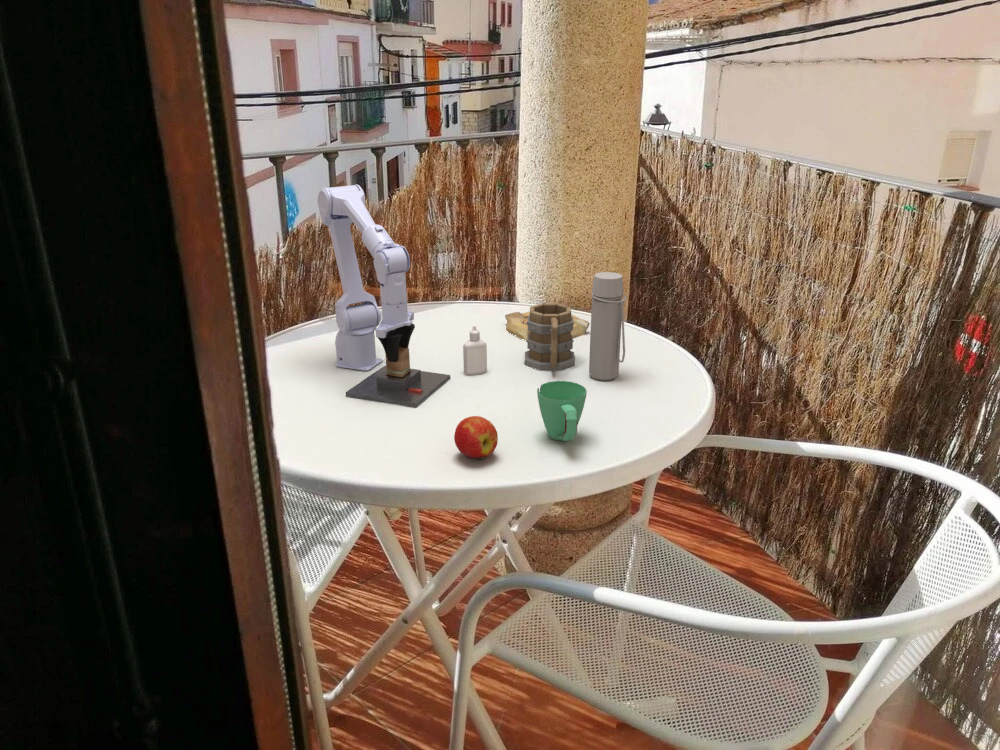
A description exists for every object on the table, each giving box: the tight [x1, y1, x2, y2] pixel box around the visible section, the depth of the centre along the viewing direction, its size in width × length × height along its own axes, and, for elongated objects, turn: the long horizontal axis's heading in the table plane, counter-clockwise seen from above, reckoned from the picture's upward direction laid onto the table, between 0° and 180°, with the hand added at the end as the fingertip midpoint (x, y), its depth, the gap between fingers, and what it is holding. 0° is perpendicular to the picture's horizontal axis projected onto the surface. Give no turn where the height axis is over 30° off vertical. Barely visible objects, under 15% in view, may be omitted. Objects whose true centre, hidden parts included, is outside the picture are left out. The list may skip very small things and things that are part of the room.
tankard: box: [524, 302, 576, 371], centre depth 188 cm, size 20×13×15 cm, turn 178°
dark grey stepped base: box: [345, 365, 451, 409], centre depth 178 cm, size 18×18×4 cm
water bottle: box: [588, 271, 627, 382], centre depth 179 cm, size 9×8×25 cm
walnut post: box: [384, 347, 411, 377], centre depth 176 cm, size 4×4×6 cm
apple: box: [453, 415, 499, 460], centre depth 145 cm, size 8×8×8 cm
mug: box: [536, 380, 588, 442], centre depth 151 cm, size 15×10×10 cm
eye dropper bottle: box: [462, 325, 488, 376], centre depth 185 cm, size 4×6×12 cm
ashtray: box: [504, 311, 591, 341], centre depth 217 cm, size 24×24×5 cm
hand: (397, 357), depth 176 cm, fingers closed on walnut post, 4 cm apart
